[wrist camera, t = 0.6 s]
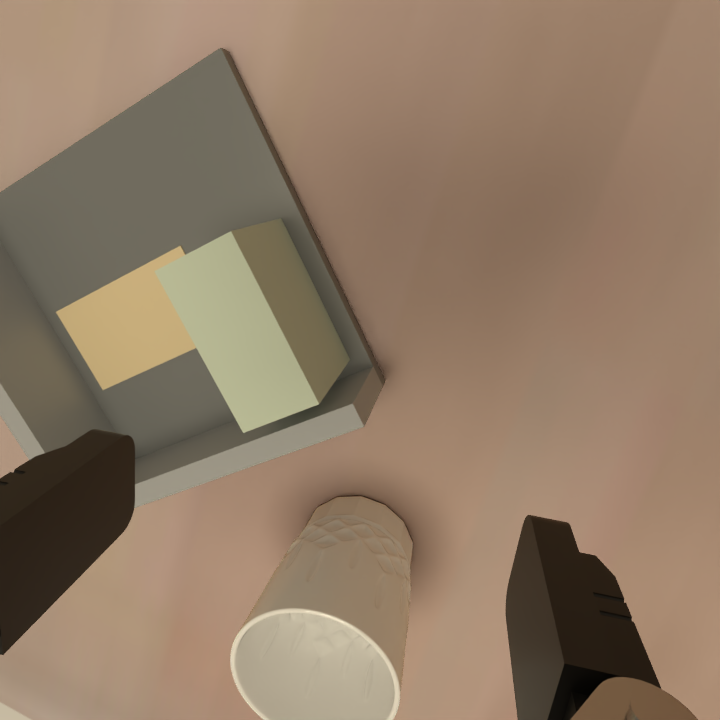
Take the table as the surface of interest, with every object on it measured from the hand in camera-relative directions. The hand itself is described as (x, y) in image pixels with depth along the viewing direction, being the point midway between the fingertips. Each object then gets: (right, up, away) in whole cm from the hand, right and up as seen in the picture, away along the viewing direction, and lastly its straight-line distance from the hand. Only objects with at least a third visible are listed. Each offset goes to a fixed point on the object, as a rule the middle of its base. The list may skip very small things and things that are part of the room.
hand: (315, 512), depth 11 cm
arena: (-10, +7, +20) cm, 23 cm away
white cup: (+1, -8, +23) cm, 25 cm away
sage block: (-3, +6, +18) cm, 19 cm away
